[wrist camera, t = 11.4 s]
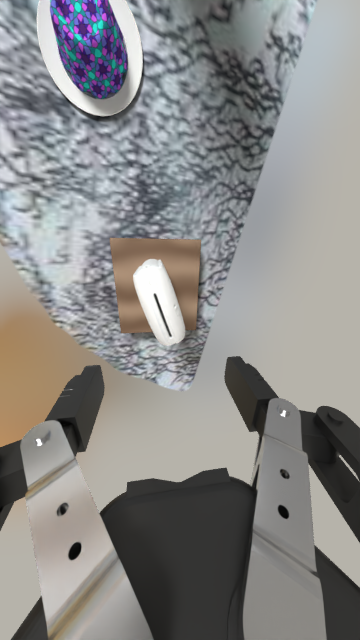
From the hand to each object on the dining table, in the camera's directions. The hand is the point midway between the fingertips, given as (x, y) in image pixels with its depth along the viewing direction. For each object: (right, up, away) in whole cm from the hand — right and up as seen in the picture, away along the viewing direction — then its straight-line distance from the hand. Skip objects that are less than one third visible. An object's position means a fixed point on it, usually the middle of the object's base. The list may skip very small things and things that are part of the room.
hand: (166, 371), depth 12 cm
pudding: (-10, +37, +11) cm, 40 cm away
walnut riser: (-3, +10, +23) cm, 26 cm away
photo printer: (-3, +9, +20) cm, 22 cm away
